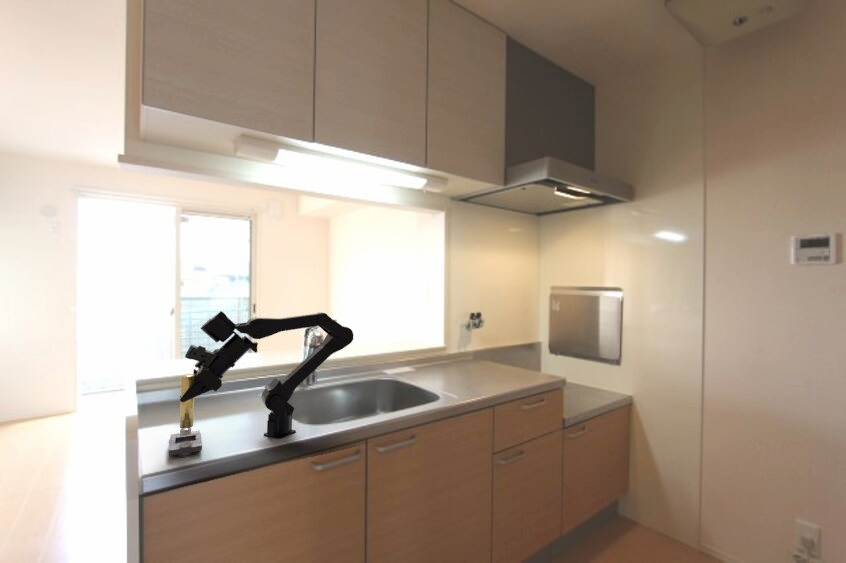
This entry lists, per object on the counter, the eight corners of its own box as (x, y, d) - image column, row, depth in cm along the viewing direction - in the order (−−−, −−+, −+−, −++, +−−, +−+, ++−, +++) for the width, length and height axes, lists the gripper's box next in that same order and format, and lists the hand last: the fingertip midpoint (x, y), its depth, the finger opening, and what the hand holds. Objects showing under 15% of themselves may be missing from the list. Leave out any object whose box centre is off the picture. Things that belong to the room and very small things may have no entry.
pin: (188, 424, 106) (189, 374, 107) (195, 425, 105) (197, 375, 105) (177, 427, 103) (178, 376, 104) (184, 429, 102) (186, 377, 103)
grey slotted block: (170, 438, 111) (171, 427, 111) (199, 434, 114) (199, 424, 114) (168, 460, 96) (168, 448, 96) (201, 455, 100) (202, 443, 100)
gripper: (204, 331, 115) (157, 373, 109) (208, 337, 99) (152, 387, 93) (234, 356, 119) (190, 399, 113) (242, 366, 103) (191, 416, 97)
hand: (181, 399), depth 104 cm, fingers closed on pin, 3 cm apart
